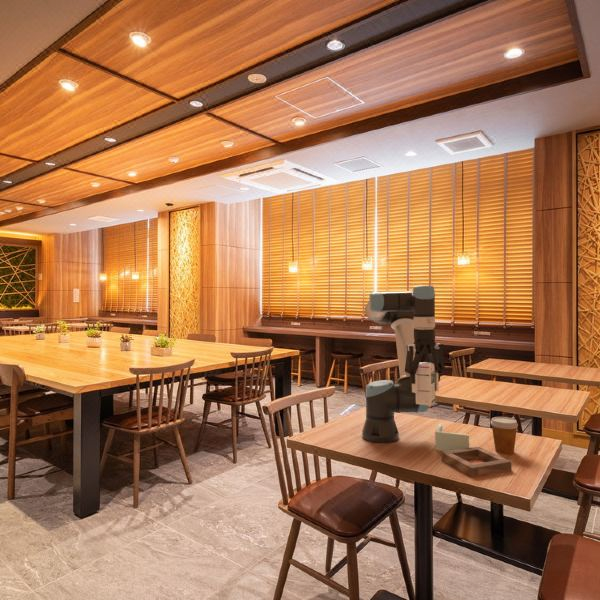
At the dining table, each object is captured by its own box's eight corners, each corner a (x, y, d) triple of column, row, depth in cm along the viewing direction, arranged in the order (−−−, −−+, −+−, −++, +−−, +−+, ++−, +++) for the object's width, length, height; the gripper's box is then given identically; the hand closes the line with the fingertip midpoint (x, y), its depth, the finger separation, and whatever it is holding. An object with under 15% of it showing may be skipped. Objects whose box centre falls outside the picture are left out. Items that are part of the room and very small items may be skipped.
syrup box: (431, 406, 154) (431, 364, 154) (415, 404, 157) (414, 363, 157) (435, 402, 159) (435, 362, 159) (419, 400, 162) (419, 361, 162)
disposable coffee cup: (519, 449, 167) (519, 418, 167) (517, 458, 158) (517, 424, 158) (492, 445, 171) (491, 415, 171) (489, 453, 163) (488, 421, 163)
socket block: (441, 460, 158) (441, 451, 158) (478, 454, 163) (478, 446, 163) (472, 477, 142) (471, 468, 142) (511, 470, 147) (511, 461, 147)
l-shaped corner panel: (469, 455, 163) (468, 435, 163) (435, 451, 169) (435, 431, 168) (471, 445, 174) (470, 426, 174) (439, 441, 179) (439, 423, 179)
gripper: (404, 330, 151) (405, 396, 151) (455, 327, 157) (456, 391, 158) (393, 328, 158) (394, 391, 158) (442, 326, 165) (443, 387, 165)
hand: (425, 391), depth 158 cm, fingers closed on syrup box, 8 cm apart
